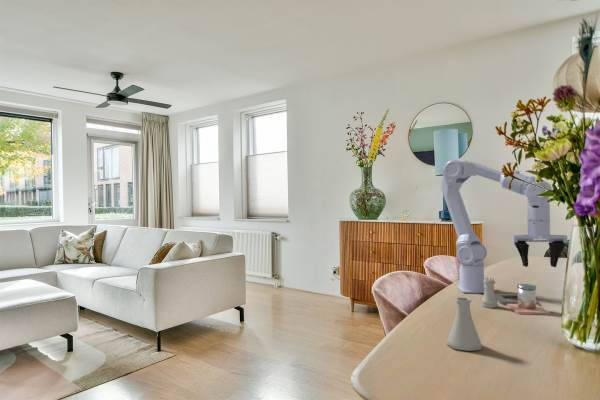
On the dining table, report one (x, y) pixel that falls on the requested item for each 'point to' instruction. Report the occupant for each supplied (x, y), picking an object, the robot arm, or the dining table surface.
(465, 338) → the flask
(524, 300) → the glass jar
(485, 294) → the rook chess piece
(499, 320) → the dining table surface
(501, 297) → the bore plate
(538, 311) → the tile
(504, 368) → the dining table surface
